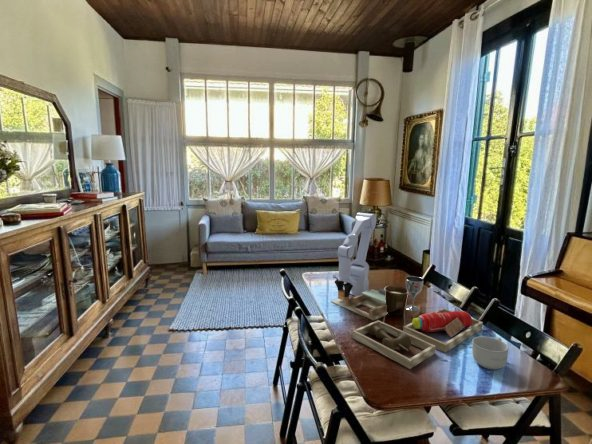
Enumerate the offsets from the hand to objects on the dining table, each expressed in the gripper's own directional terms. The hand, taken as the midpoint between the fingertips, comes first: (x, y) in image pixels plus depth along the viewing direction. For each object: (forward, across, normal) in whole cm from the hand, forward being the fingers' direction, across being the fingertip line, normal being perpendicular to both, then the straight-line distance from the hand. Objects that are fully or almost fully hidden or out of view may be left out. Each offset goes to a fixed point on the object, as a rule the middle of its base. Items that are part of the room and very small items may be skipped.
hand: (343, 295), depth 167 cm
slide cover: (-1, +13, +11) cm, 17 cm away
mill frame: (+4, +40, -16) cm, 44 cm away
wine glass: (+4, +26, +22) cm, 34 cm away
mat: (+4, 0, 0) cm, 4 cm away
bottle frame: (+4, +46, +12) cm, 48 cm away
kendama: (+4, +40, -16) cm, 43 cm away
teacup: (+4, +68, +2) cm, 69 cm away
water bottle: (+4, +46, +11) cm, 48 cm away
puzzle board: (+4, +13, +5) cm, 15 cm away
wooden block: (+2, 0, 0) cm, 2 cm away
